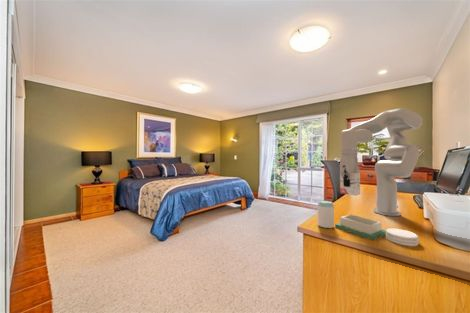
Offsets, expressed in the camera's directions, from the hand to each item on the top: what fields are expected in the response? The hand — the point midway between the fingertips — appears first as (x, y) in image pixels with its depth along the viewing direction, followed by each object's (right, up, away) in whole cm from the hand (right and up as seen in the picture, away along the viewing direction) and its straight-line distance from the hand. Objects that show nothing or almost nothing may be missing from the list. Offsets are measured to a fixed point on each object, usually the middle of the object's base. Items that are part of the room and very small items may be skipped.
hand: (349, 185), depth 104 cm
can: (-19, -18, -11) cm, 28 cm away
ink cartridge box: (0, -5, 0) cm, 5 cm away
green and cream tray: (-5, -18, -16) cm, 25 cm away
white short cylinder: (+5, -19, -27) cm, 33 cm away
